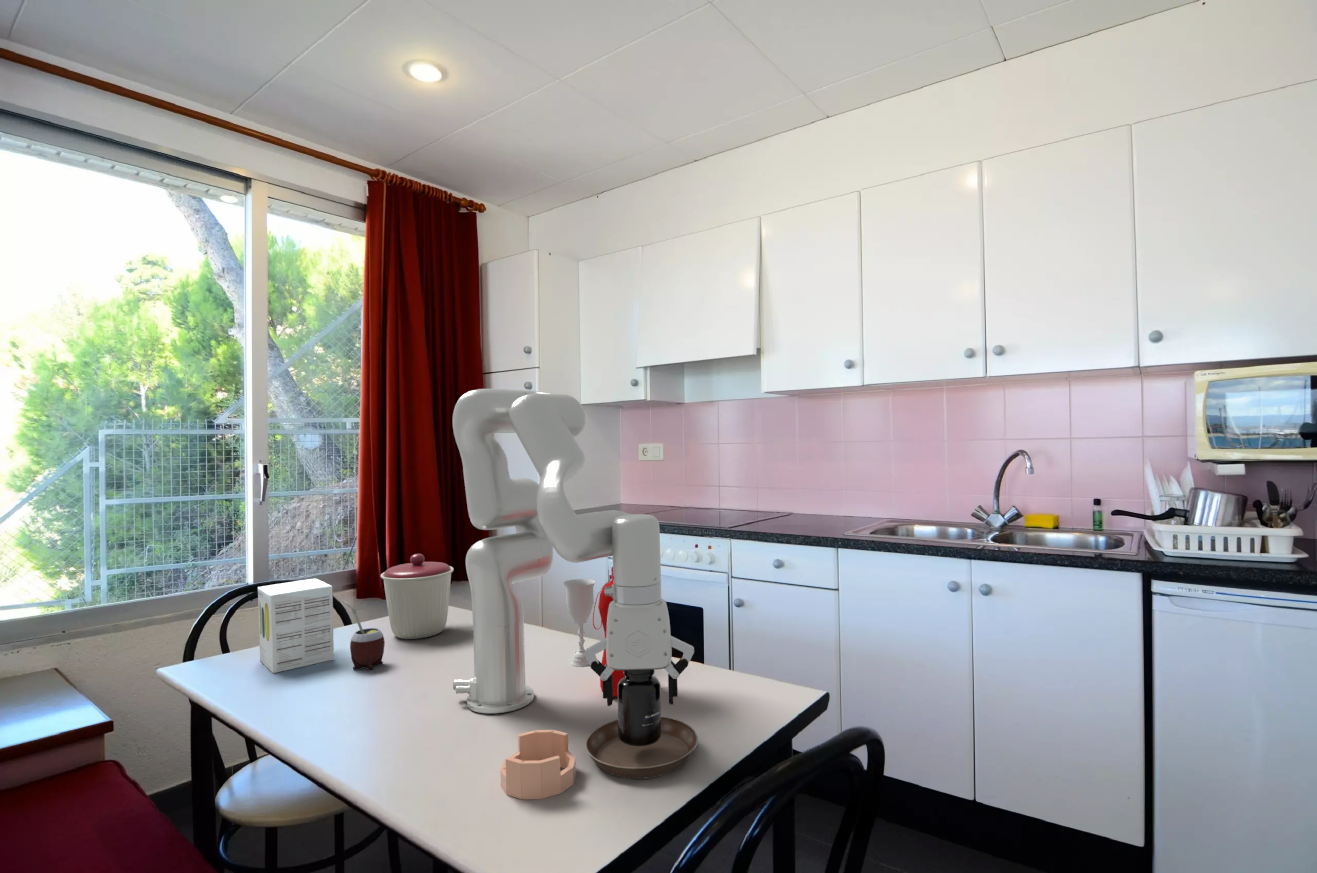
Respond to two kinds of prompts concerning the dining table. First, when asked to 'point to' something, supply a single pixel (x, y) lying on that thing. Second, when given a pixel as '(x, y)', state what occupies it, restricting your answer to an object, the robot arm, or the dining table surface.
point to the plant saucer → (642, 750)
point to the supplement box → (295, 624)
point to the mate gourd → (366, 646)
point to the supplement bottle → (639, 708)
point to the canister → (417, 597)
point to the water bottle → (603, 610)
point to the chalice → (579, 611)
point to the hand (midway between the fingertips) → (640, 702)
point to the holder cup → (539, 766)
